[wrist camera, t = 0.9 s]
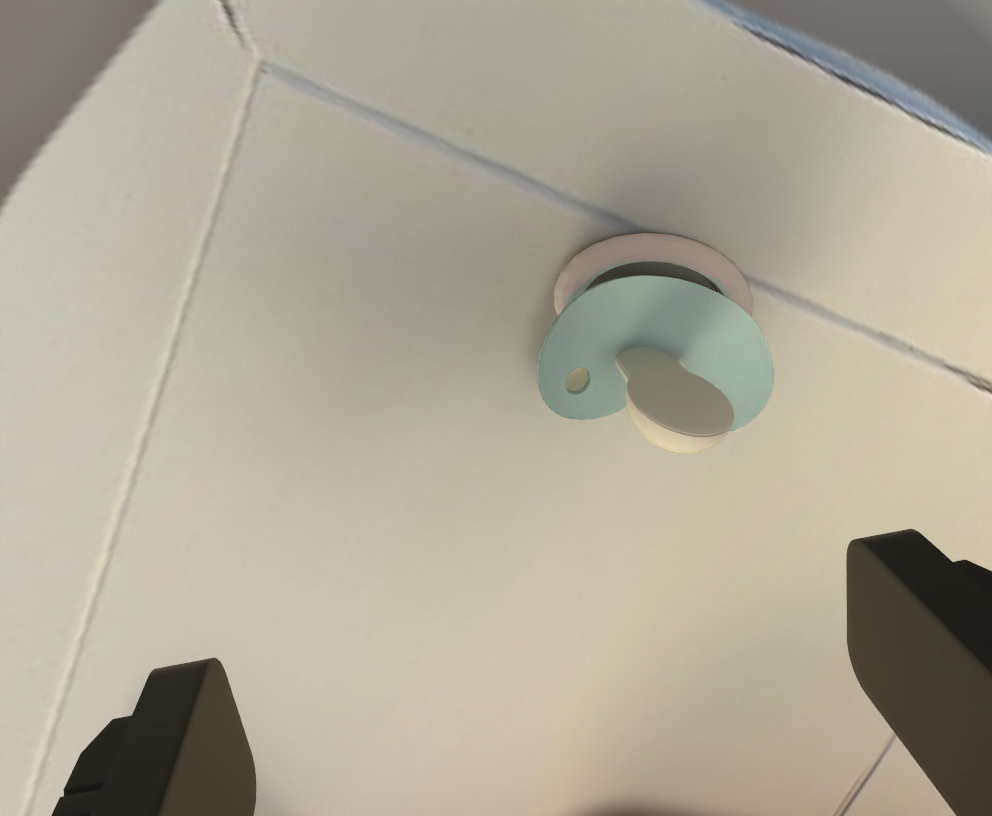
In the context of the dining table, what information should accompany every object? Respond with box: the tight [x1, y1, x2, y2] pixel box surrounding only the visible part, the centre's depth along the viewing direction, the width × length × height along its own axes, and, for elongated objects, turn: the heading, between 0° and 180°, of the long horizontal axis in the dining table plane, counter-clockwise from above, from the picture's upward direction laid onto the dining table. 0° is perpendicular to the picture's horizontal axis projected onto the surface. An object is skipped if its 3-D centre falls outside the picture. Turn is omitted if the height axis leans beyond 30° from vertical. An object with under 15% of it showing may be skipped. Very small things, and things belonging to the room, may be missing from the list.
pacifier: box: [537, 233, 774, 453], centre depth 26 cm, size 7×6×6 cm
